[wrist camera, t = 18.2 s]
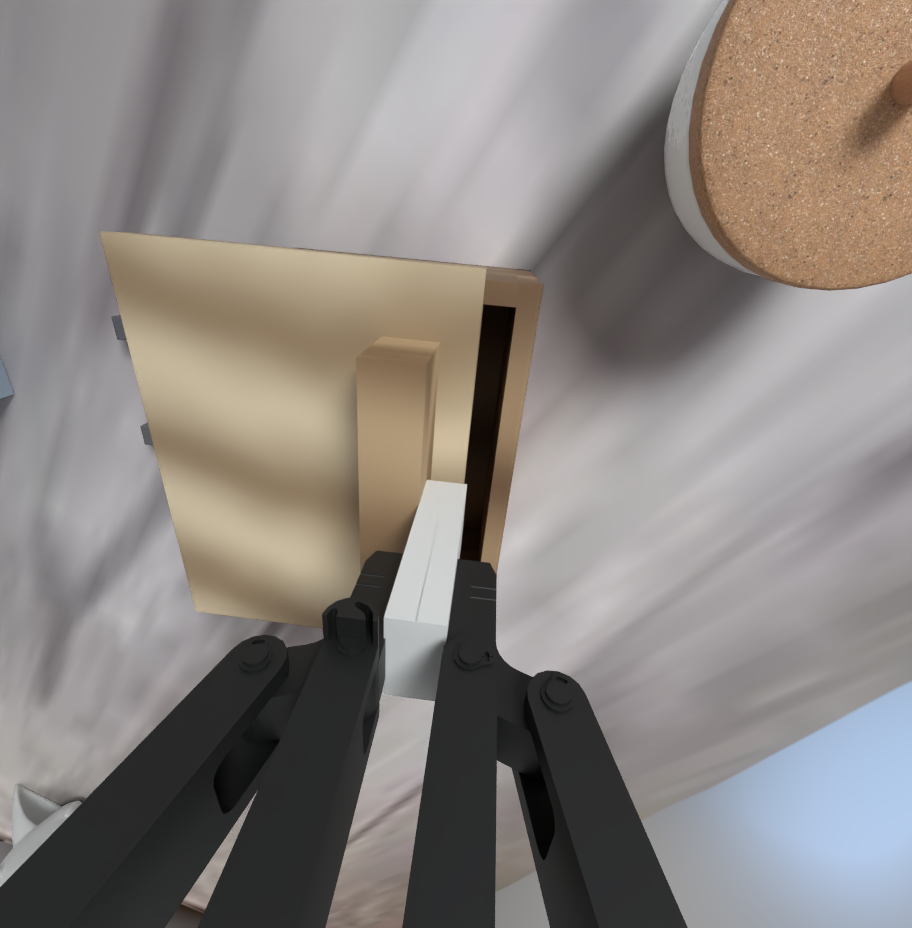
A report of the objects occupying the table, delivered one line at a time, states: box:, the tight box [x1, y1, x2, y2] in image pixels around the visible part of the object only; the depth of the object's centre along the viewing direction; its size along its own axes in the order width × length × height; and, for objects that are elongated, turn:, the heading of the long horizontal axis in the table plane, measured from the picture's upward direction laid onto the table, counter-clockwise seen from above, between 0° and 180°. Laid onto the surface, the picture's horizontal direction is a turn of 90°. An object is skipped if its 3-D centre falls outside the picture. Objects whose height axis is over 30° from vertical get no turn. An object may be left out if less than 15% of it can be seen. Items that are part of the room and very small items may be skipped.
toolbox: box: [297, 248, 543, 574], centre depth 22 cm, size 16×12×8 cm
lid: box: [100, 232, 487, 628], centre depth 17 cm, size 17×13×4 cm
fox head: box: [0, 784, 82, 887], centre depth 48 cm, size 13×17×20 cm
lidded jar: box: [664, 0, 912, 290], centre depth 15 cm, size 11×11×9 cm
